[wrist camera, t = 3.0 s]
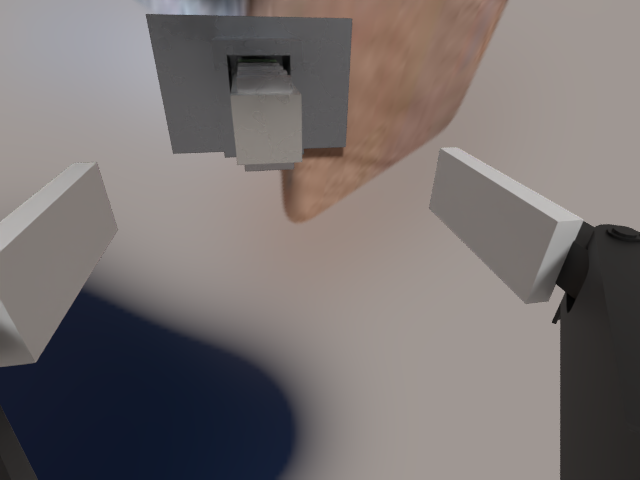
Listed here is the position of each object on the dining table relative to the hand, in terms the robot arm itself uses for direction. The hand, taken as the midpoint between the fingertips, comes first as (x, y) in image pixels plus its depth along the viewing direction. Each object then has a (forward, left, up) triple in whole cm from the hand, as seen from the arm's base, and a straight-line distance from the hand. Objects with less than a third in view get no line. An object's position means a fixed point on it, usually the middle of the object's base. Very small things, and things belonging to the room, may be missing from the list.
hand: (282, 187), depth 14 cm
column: (0, 0, -25) cm, 25 cm away
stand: (0, 0, -26) cm, 26 cm away
